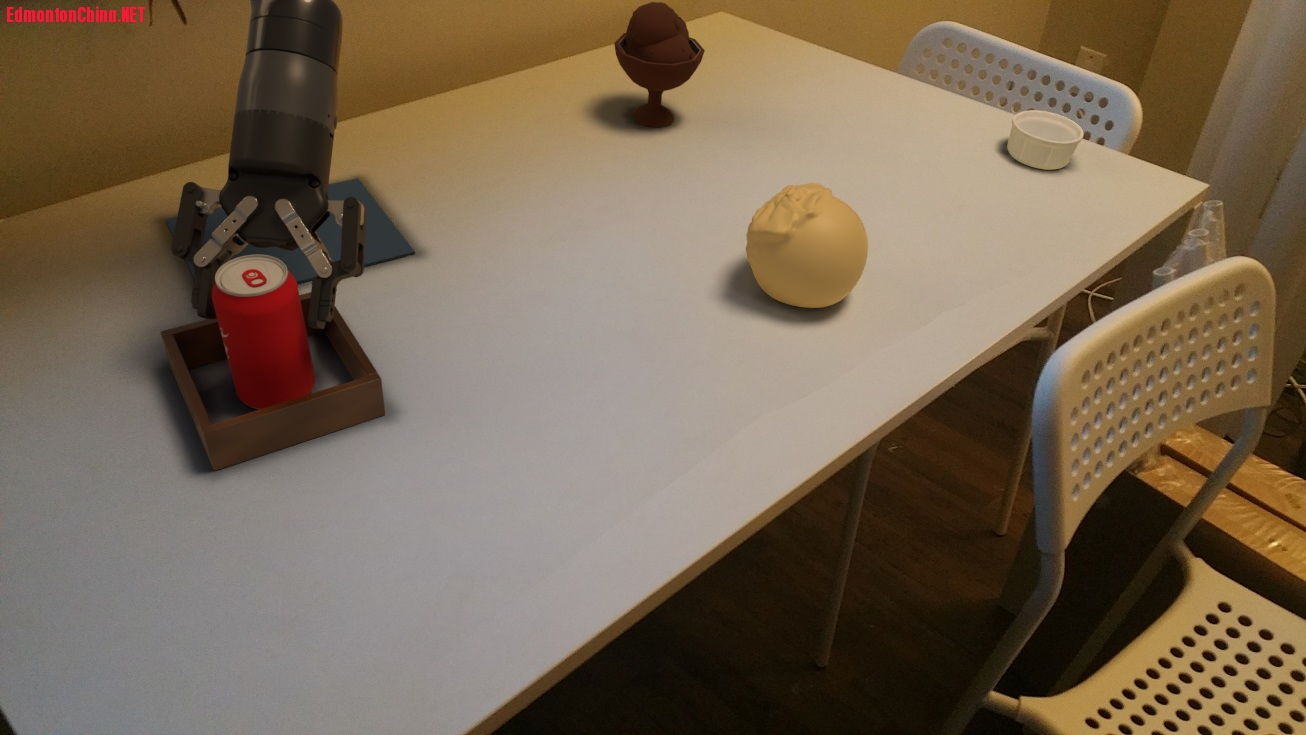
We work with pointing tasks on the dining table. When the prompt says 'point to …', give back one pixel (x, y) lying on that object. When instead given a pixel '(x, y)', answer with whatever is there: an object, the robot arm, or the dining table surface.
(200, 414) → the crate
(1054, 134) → the ramekin
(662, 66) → the ice cream bowl
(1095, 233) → the dining table surface
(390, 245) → the cloth mat
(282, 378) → the beverage can
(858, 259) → the sculpture
